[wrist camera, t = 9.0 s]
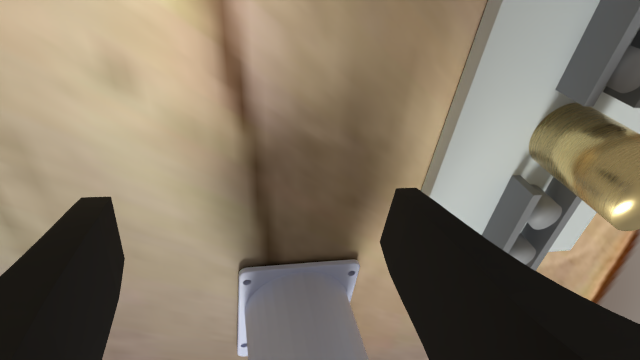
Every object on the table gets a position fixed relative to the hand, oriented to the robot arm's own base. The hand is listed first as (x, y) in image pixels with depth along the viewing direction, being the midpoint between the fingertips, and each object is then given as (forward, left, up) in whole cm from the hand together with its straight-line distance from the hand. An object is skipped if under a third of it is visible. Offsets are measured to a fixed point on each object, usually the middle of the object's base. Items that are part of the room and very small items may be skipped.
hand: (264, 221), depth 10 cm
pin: (-2, -18, -8) cm, 20 cm away
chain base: (-2, -18, -9) cm, 20 cm away
